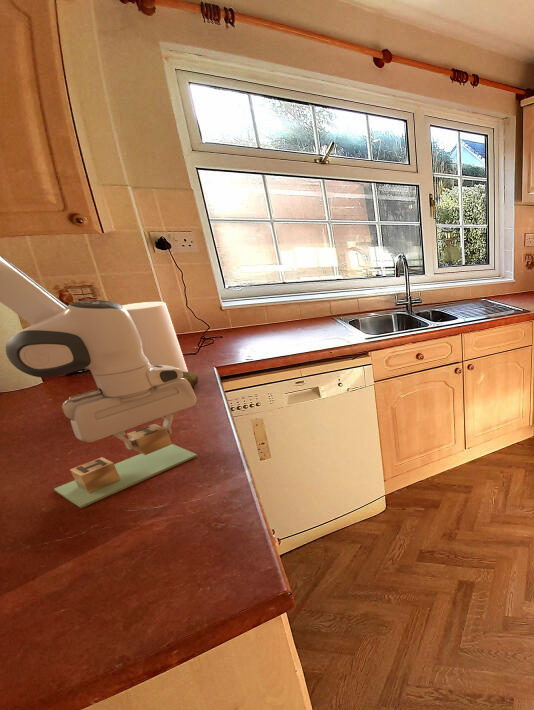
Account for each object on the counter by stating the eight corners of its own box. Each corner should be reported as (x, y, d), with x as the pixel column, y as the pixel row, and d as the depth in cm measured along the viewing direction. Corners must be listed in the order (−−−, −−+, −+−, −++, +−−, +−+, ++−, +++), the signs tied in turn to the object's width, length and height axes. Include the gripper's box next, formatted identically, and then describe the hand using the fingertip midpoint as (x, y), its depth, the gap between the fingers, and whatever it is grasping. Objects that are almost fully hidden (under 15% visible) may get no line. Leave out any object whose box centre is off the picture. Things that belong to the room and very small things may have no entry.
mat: (80, 508, 78) (79, 506, 77) (54, 490, 83) (53, 488, 83) (197, 456, 94) (197, 454, 94) (169, 444, 99) (168, 442, 99)
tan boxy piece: (145, 455, 88) (138, 438, 86) (133, 450, 90) (126, 433, 89) (172, 444, 92) (165, 427, 90) (160, 439, 94) (154, 423, 93)
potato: (202, 390, 130) (194, 365, 127) (149, 401, 122) (139, 376, 119) (199, 382, 136) (192, 359, 133) (148, 393, 128) (139, 368, 125)
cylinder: (189, 372, 145) (165, 299, 136) (190, 383, 136) (164, 305, 126) (143, 381, 138) (114, 305, 129) (140, 392, 129) (109, 311, 119)
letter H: (89, 493, 81) (80, 475, 79) (77, 486, 83) (69, 468, 82) (121, 479, 85) (113, 462, 83) (109, 473, 87) (101, 456, 86)
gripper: (64, 403, 75) (95, 468, 81) (189, 367, 92) (208, 423, 97) (50, 397, 78) (81, 460, 83) (174, 363, 95) (193, 418, 100)
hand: (150, 440), depth 90 cm, fingers closed on tan boxy piece, 5 cm apart
